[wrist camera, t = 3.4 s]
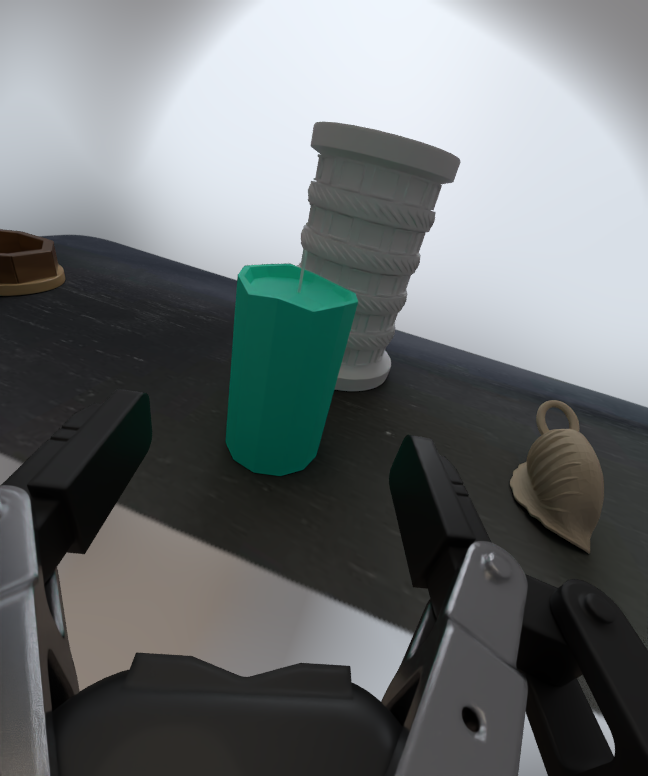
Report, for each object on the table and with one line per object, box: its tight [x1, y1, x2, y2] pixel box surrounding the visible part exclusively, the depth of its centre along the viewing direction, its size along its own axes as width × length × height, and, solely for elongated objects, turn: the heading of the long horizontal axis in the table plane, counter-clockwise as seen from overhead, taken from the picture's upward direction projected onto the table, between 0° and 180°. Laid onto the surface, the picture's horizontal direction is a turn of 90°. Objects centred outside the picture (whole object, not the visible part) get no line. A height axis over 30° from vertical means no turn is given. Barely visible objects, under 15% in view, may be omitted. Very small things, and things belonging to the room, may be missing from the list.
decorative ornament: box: [510, 400, 604, 554], centre depth 22 cm, size 4×8×5 cm, turn 160°
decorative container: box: [297, 122, 460, 391], centre depth 29 cm, size 12×12×18 cm
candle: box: [226, 250, 358, 476], centre depth 19 cm, size 6×6×12 cm
